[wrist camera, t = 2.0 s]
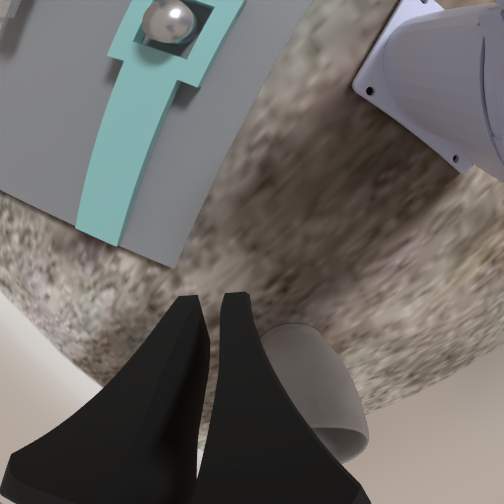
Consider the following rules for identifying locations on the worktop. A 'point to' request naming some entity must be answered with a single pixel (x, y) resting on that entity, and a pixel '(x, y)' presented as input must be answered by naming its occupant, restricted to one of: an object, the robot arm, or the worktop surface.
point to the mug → (318, 387)
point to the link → (142, 113)
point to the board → (96, 99)
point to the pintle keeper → (149, 21)
